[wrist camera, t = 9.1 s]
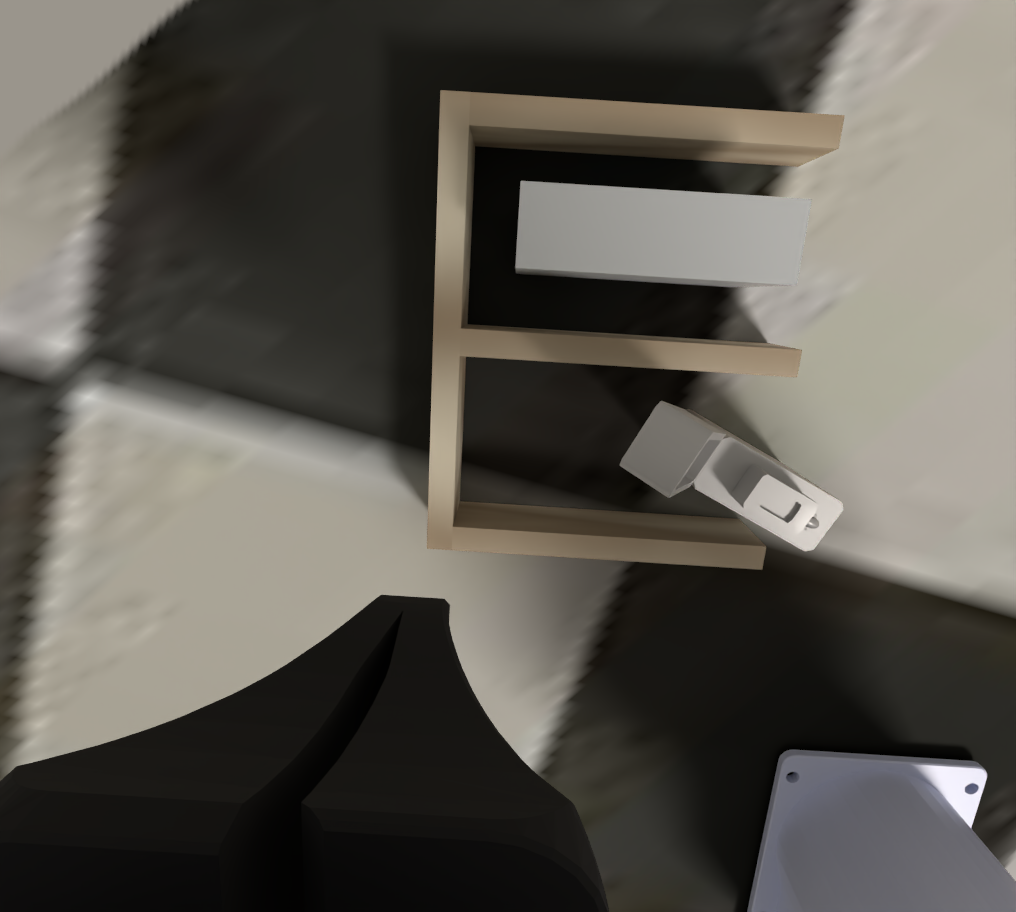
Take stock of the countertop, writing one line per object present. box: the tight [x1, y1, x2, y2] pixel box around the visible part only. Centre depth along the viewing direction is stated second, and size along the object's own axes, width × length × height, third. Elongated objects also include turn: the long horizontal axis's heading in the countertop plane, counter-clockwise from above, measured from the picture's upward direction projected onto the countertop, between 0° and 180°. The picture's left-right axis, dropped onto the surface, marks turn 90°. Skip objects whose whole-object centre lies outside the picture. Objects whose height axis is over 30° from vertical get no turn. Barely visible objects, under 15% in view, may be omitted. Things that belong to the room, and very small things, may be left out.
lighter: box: [619, 401, 843, 551], centre depth 18 cm, size 7×2×8 cm, turn 60°
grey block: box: [515, 181, 812, 287], centre depth 17 cm, size 2×7×5 cm, turn 87°
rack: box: [427, 90, 844, 570], centre depth 19 cm, size 13×11×2 cm
